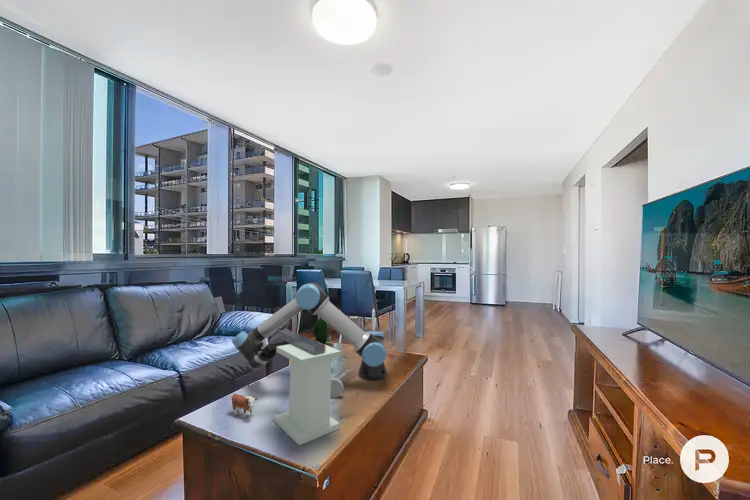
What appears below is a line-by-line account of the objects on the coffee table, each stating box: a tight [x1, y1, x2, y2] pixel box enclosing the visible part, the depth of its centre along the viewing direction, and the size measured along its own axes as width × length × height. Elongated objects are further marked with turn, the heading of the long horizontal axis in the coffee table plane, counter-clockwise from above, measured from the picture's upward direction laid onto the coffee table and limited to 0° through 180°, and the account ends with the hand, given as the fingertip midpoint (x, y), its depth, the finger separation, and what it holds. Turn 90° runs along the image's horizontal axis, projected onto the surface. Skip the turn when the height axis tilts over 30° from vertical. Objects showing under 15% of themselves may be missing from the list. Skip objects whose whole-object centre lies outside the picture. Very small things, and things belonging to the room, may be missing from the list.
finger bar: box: [277, 329, 326, 355], centre depth 120 cm, size 30×5×3 cm, turn 42°
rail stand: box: [273, 342, 342, 446], centre depth 114 cm, size 20×16×28 cm
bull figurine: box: [231, 393, 258, 419], centre depth 120 cm, size 4×13×8 cm, turn 58°
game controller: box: [330, 377, 345, 399], centre depth 138 cm, size 20×2×8 cm, turn 85°
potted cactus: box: [313, 317, 335, 364], centre depth 167 cm, size 15×15×30 cm
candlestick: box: [371, 304, 376, 332], centre depth 191 cm, size 11×11×35 cm
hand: (282, 338), depth 130 cm, fingers open, 13 cm apart
